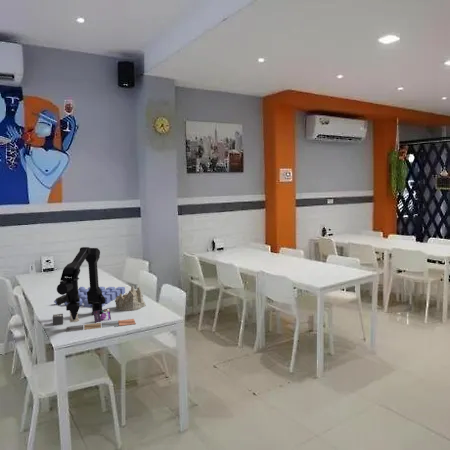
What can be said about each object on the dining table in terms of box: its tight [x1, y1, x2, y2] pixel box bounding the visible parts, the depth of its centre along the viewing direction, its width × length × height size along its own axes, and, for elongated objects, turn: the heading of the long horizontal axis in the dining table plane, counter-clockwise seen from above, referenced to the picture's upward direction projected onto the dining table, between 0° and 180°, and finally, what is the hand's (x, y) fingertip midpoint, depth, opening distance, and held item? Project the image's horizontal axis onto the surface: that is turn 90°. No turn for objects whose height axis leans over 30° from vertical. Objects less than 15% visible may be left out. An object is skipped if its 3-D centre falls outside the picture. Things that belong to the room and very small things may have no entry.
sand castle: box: [114, 285, 146, 312], centre depth 263 cm, size 16×16×15 cm
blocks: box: [53, 286, 126, 308], centre depth 285 cm, size 35×34×5 cm
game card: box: [93, 308, 112, 323], centre depth 239 cm, size 7×5×9 cm
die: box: [52, 313, 64, 326], centre depth 234 cm, size 5×5×5 cm
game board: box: [65, 318, 136, 333], centre depth 230 cm, size 9×36×1 cm, turn 108°
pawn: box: [69, 311, 80, 323], centre depth 225 cm, size 5×5×7 cm
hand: (74, 318), depth 225 cm, fingers closed on pawn, 4 cm apart
